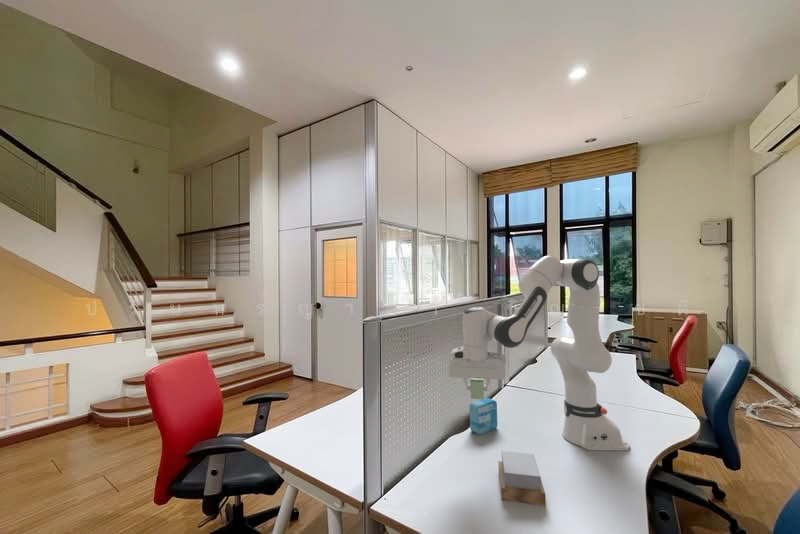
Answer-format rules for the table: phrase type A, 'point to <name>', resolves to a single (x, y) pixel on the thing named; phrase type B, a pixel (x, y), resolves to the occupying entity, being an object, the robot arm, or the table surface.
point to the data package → (483, 415)
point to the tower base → (520, 492)
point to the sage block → (476, 388)
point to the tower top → (520, 470)
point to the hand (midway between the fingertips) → (477, 390)
